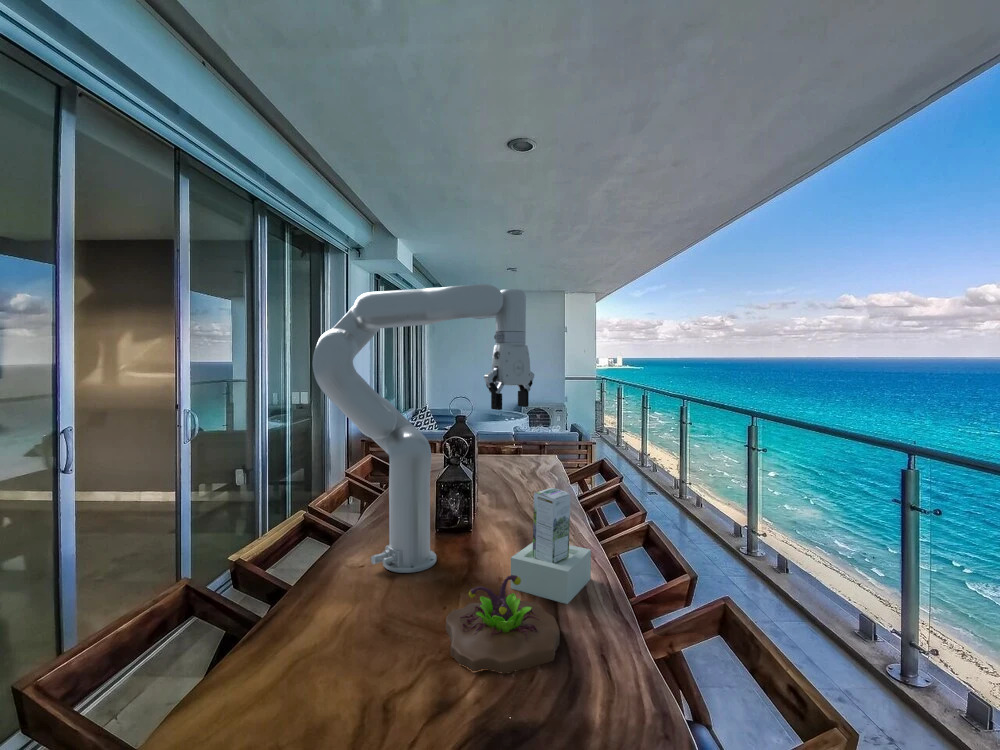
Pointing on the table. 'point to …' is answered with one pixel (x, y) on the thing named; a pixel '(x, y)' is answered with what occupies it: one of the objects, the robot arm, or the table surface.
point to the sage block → (552, 574)
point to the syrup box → (551, 525)
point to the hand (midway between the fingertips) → (510, 407)
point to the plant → (502, 632)
